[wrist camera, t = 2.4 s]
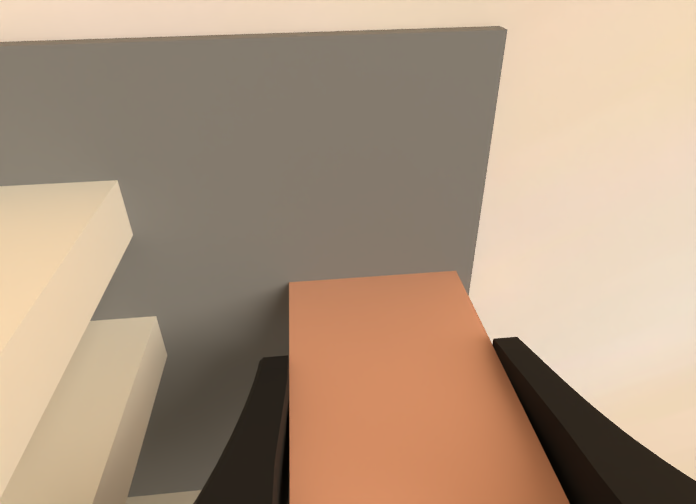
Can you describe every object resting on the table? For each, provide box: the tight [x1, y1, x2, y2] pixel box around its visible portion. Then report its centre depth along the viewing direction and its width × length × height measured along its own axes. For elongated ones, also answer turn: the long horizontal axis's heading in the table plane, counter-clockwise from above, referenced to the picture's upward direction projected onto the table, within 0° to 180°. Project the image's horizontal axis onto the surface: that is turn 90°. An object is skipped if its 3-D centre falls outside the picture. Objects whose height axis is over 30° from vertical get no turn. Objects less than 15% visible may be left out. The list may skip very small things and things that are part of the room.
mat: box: [0, 26, 507, 497], centre depth 18 cm, size 18×26×1 cm
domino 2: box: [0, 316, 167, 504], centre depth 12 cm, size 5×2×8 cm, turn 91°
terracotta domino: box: [289, 271, 570, 504], centre depth 12 cm, size 5×2×8 cm, turn 91°
